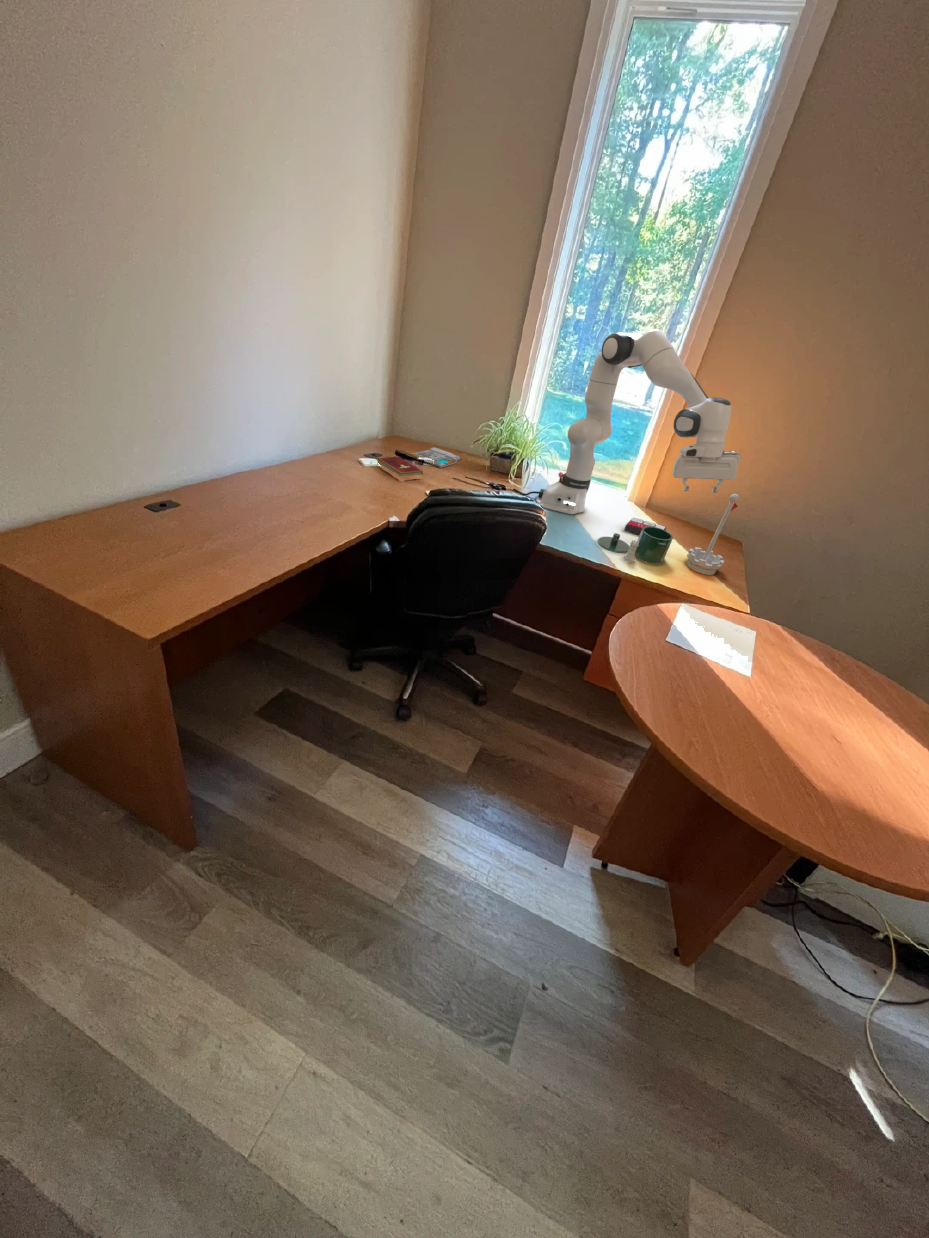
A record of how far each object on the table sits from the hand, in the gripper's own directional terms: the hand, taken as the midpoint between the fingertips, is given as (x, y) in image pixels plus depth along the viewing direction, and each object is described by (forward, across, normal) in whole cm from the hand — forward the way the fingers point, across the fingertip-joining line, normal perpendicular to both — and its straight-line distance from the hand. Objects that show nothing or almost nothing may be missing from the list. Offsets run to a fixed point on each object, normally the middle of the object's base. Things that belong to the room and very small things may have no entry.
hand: (700, 491), depth 172 cm
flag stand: (+31, -8, -7) cm, 33 cm away
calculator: (+25, +13, -28) cm, 40 cm away
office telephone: (+3, +116, -63) cm, 132 cm away
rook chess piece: (+27, +21, +3) cm, 34 cm away
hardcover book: (+4, +125, -32) cm, 129 cm away
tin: (+27, +13, -4) cm, 30 cm away
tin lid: (+24, +26, -7) cm, 36 cm away
